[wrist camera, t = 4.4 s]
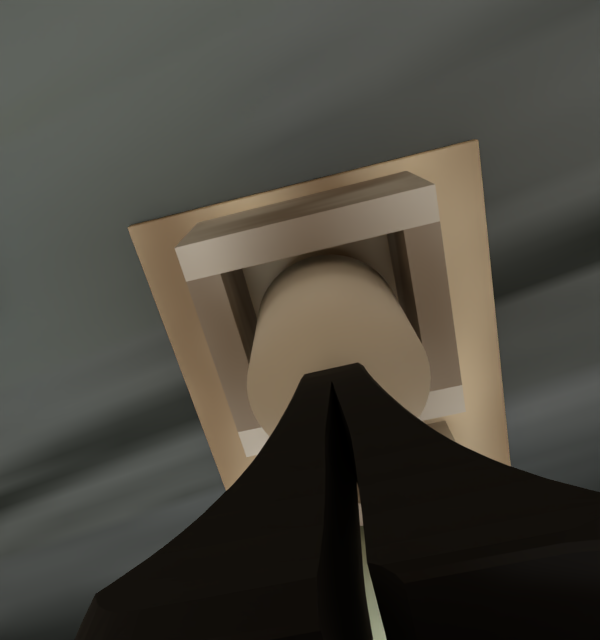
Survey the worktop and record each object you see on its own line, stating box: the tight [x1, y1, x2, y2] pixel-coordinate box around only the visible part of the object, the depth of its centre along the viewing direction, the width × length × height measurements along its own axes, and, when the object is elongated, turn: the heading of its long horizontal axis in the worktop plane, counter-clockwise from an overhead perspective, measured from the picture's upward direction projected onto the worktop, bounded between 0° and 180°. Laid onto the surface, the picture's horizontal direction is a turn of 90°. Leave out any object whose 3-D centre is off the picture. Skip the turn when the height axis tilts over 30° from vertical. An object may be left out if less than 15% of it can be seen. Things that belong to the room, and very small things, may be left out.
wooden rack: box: [128, 139, 511, 526], centre depth 20 cm, size 12×28×4 cm, turn 14°
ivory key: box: [247, 254, 431, 436], centre depth 14 cm, size 4×4×4 cm
